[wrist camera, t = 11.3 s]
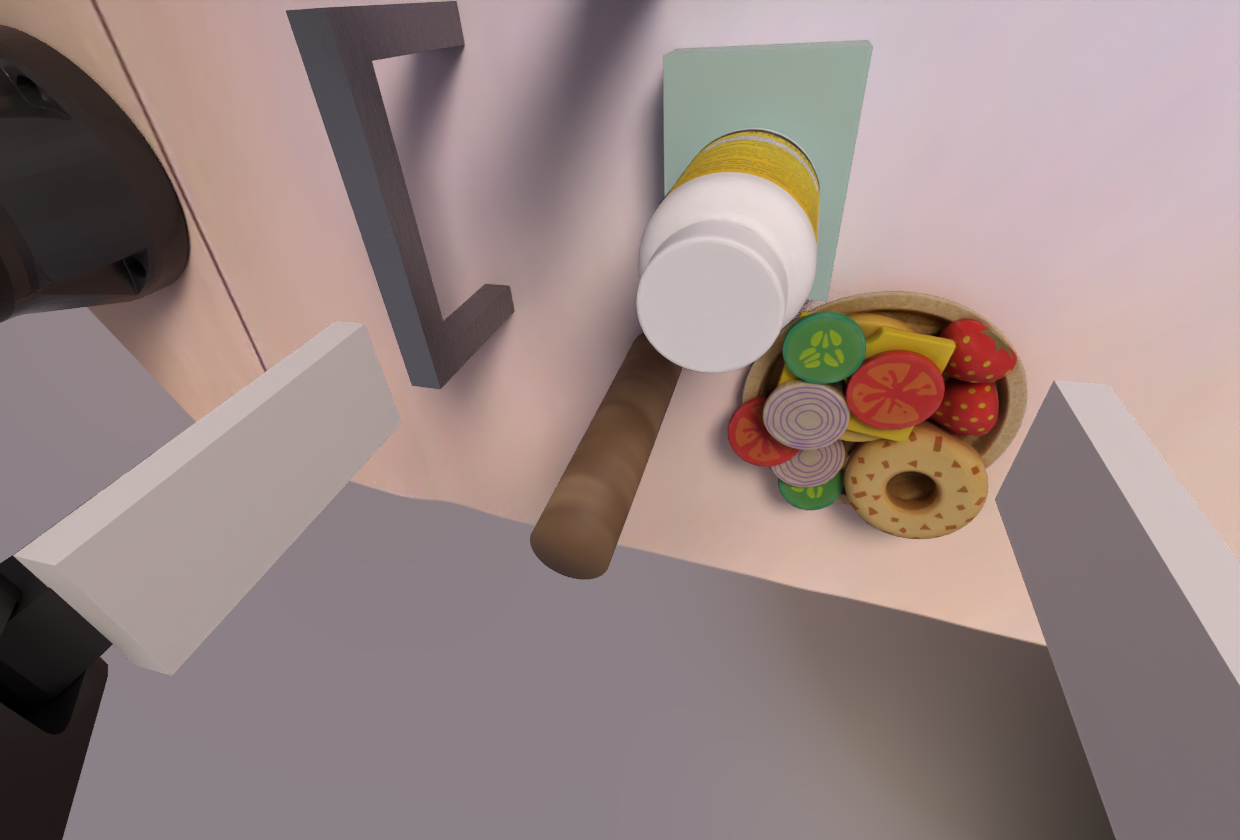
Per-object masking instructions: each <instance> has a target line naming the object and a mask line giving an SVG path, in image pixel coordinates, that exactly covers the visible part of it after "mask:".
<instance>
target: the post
mask: <svg viewBox="0 0 1240 840" xmlns="http://www.w3.org/2000/svg"><path fill="white" fill-rule="evenodd" d="M682 368H683V367H681V366H679V365H677V364H675V363H673V362H671V361H670V360H668V359H667V358H665V357H664V356H663V355H661V354H660V353H659V352H658V351H657V350H656V349H655V348H654V346H653V345H652V344H651V343H650V342H649V340H648V339H647V337H646V336H645V334H644V333H643V334H641V335H640V336H638V337H637V338H636V340H635V341H634V343H633V345H632V347H631V348H630V350H629V352H628V354H627V356H626V358H625V360H624V362H623V363H622V365H621V367H620V369H619V371H618V373H617V375H616V377H615V378H614V380H613V382H612V384H611V386H610V388H609V390H608V391H607V393H606V395H605V397H604V399H603V401H602V403H601V405H600V406H599V408H598V410H597V412H596V414H595V416H594V418H593V419H592V421H591V423H590V425H589V427H588V429H587V431H586V433H585V434H584V436H583V438H582V440H581V442H580V444H579V446H578V448H577V449H576V451H575V453H574V455H573V457H572V459H571V461H570V462H569V464H568V466H567V468H566V470H565V472H564V474H563V476H562V477H561V479H560V481H559V483H558V485H557V487H556V489H555V490H554V492H553V494H552V496H551V498H550V500H549V502H548V504H547V505H546V507H545V509H544V511H543V513H542V515H541V517H540V519H539V520H538V522H537V524H536V526H535V528H534V530H533V532H532V534H531V537H530V543H531V547H532V549H533V551H534V553H535V555H536V556H537V557H538V558H539V559H540V560H541V561H542V562H543V563H544V564H545V565H546V566H548V567H549V568H550V569H552V570H554V571H556V572H558V573H560V574H562V575H564V576H568V577H571V578H576V579H593V578H596V577H599V576H601V575H602V574H604V573H605V572H606V570H607V569H608V566H609V564H610V561H611V558H612V556H613V553H614V550H615V548H616V545H617V542H618V540H619V537H620V534H621V532H622V529H623V526H624V524H625V521H626V518H627V515H628V513H629V510H630V507H631V505H632V502H633V499H634V497H635V494H636V491H637V489H638V486H639V483H640V481H641V478H642V475H643V472H644V470H645V467H646V464H647V462H648V459H649V456H650V454H651V451H652V448H653V446H654V443H655V440H656V438H657V435H658V432H659V430H660V427H661V424H662V421H663V419H664V416H665V413H666V411H667V408H668V405H669V403H670V400H671V397H672V395H673V392H674V389H675V387H676V384H677V381H678V379H679V376H680V373H681V370H682Z"/></svg>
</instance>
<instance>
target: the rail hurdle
mask: <svg viewBox="0 0 1240 840" xmlns="http://www.w3.org/2000/svg"><path fill="white" fill-rule="evenodd" d="M286 13H287V16H288V19H289V22H290V25H291V28H292V31H293V34H294V37H295V40H296V43H297V45H298V48H299V51H300V54H301V57H302V60H303V63H304V66H305V69H306V72H307V75H308V78H309V81H310V84H311V87H312V90H313V93H314V96H315V99H316V102H317V105H318V108H319V111H320V114H321V117H322V120H323V123H324V126H325V129H326V132H327V134H328V137H329V140H330V143H331V146H332V149H333V152H334V155H335V158H336V161H337V164H338V167H339V170H340V173H341V176H342V179H343V182H344V185H345V188H346V191H347V194H348V197H349V200H350V203H351V206H352V209H353V212H354V215H355V218H356V221H357V224H358V226H359V229H360V232H361V235H362V238H363V241H364V244H365V247H366V250H367V253H368V256H369V259H370V262H371V265H372V268H373V271H374V274H375V277H376V280H377V283H378V286H379V289H380V292H381V295H382V298H383V301H384V304H385V307H386V310H387V313H388V315H389V318H390V321H391V324H392V327H393V330H394V333H395V336H396V339H397V342H398V345H399V348H400V351H401V354H402V357H403V360H404V363H405V366H406V369H407V372H408V375H409V378H410V381H411V384H412V386H420V387H428V388H436V389H441V388H442V387H443V386H444V385H445V384H446V383H447V382H448V381H449V380H450V379H451V378H452V377H453V375H454V374H455V373H456V372H457V371H458V370H459V369H460V368H461V367H462V366H463V365H464V364H465V363H466V362H467V361H468V360H469V358H470V357H471V356H472V355H473V354H474V353H475V352H476V351H477V350H478V349H479V348H480V347H481V346H482V345H483V344H484V343H485V342H486V340H487V339H488V338H489V337H490V336H491V335H492V334H493V333H494V332H495V331H496V330H497V329H498V328H499V327H500V326H501V325H502V323H503V322H504V321H505V320H506V319H507V318H508V317H509V316H510V315H511V314H512V313H513V312H514V307H513V301H512V296H511V291H510V286H504V285H489V284H485V285H484V286H482V287H481V288H480V289H479V290H478V291H477V292H476V293H475V294H473V295H472V296H471V297H470V298H469V299H468V300H467V301H466V302H464V303H463V304H462V305H461V306H460V307H459V308H458V309H457V310H455V311H454V312H453V313H452V314H451V315H450V316H449V317H448V318H447V319H445V320H444V321H443V319H442V315H441V312H440V308H439V304H438V301H437V297H436V293H435V290H434V286H433V282H432V279H431V275H430V271H429V268H428V264H427V260H426V257H425V253H424V250H423V246H422V242H421V239H420V235H419V231H418V228H417V224H416V220H415V217H414V213H413V209H412V206H411V202H410V198H409V195H408V191H407V188H406V184H405V180H404V177H403V173H402V169H401V166H400V162H399V158H398V155H397V151H396V147H395V144H394V140H393V136H392V133H391V129H390V125H389V122H388V118H387V115H386V111H385V107H384V104H383V100H382V96H381V93H380V89H379V85H378V82H377V78H376V74H375V71H374V67H373V63H372V61H373V60H379V59H385V58H391V57H396V56H402V55H408V54H414V53H419V52H425V51H431V50H437V49H442V48H448V47H454V46H460V45H465V44H464V39H463V34H462V28H461V23H460V18H459V12H458V7H457V1H447V2H427V3H407V4H388V5H368V6H349V7H329V8H315V9H302V10H289V11H286Z"/></svg>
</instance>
